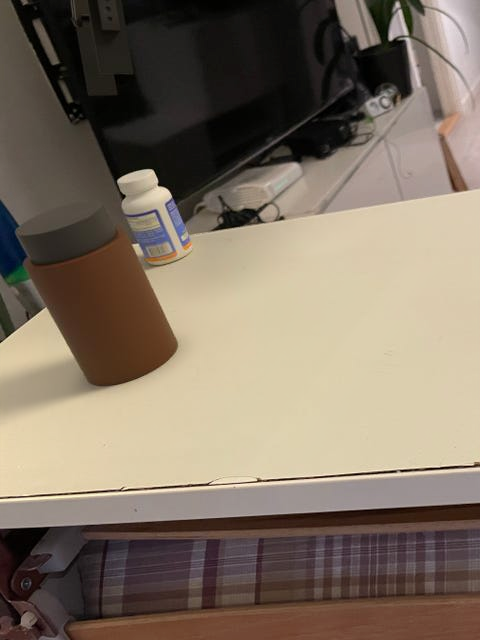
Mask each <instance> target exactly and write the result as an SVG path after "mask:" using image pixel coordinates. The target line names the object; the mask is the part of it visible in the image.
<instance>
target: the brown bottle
mask: <svg viewBox="0 0 480 640" xmlns="http://www.w3.org/2000/svg"><path fill="white" fill-rule="evenodd" d="M14 233H15V236H16V238H17V239H18V241H19V243H20V245H21V247H22V249H23V251H24V253H25V254H26V258H25V259H24V260H23V262H22V266H23V268H24V270H25V271H26V273H27V275H28V276H29V278H30V280H31V282H32V284H33V286H34V288H35V289H36V291H37V293H38V294H39V296H40V298H41V300H42V302H43V304H44V306H45V307H46V309H47V311H48V313H49V314H50V317H51V318H52V320H53V322H54V323H55V325H56V327H57V329H58V331H59V332H60V334H61V336H62V338H63V340H64V341H65V343H66V345H67V347H68V349H69V350H70V353H71V354H72V355H73V357H74V359H75V361H76V363H77V365H78V366H79V368H80V370H81V372H82V374H83V376H84V377H85V379H86V380H87V382H88V383H90V384H92V385H96V386H101V387H102V386H104V387H105V386H114V385H119V384H123V383H126V382H130V381H132V380H135V379H136V380H137V379H138V378H140V377H143V376H145V375H147V374H149V373H151V372H153V371H155V370H156V369H158V368H160V367H161V366H162V365H164V364H166V362H167V361H168V360H170V359H171V358H172V357H173V356H174V355H175V353H176V351H177V350H178V347H179V341H178V340H177V337H176V335H175V333H174V331H173V329H172V326H171V324H170V323H169V320H168V318H167V315H166V314H165V312H164V310H163V307H162V305H161V303H160V301H159V299H158V297H157V295H156V293H155V290H154V288H153V286H152V284H151V282H150V280H149V278H148V275H147V274H146V271H145V269H144V267H143V264H142V263H141V261H140V259H139V256H138V255H137V252H136V249H135V248H134V245H133V244H132V241H131V239H130V237H129V235H128V233H127V231H126V229H125V227H123V226H121V225H115V224H114V221H113V219H112V218H111V215H110V213H109V211H108V209H107V207H106V204H105V202H103V201H102V200H98V199H95V200H94V199H91V200H84V201H78V202H73V203H70V204H66V205H62V206H59V207H56V208H53V209H49V210H47V211H44V212H42V213H40V214H38V215H35V216H34V217H32V218H30V219H28V220H26V221H24V222H23V223H21V224H20V225H19V226H18V227H16V229H15V230H14Z"/></svg>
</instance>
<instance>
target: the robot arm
mask: <svg viewBox="0 0 480 640" xmlns="http://www.w3.org/2000/svg"><path fill="white" fill-rule="evenodd" d="M70 8H71V15H72V17H71V22H72V24H73V26H74V27H76V28H75V31H76V35H77V40H78V47H79V53H80V56H81V63H82V68H83V73H84V79H85V85H86V91H87V95H88V96H90V97H91V96H117V95H118V89H117V83H116V79H115V75H133V74H134V67H133V62H132V56H131V51H130V50H131V49H130V44H129V39H128V34H127V33H128V32H127V26H126V20H125V14H124V9H123V3H122V0H70Z"/></svg>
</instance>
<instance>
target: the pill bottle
mask: <svg viewBox="0 0 480 640" xmlns="http://www.w3.org/2000/svg"><path fill="white" fill-rule="evenodd" d="M116 183H117V185H118V188H119V191H120V192H121V193H122V195H125V198H124V199H123V200H122V201H121V209H122V212H123V214H124V216H125V218H126V221H127V223H128V226H130V229H131V231H132V232H133V236H134V237H135V240H136V242H137V243H138V246H139V247H140V250H141V252H142V254H143V256H144V258H145V260H146V262H147V263H148V264H149V265H152V266H162V265H166V264H170V263H173V262H176V261H178V260H180V259H183V258H184V257H186V256H188V255H189V254H190V253H191V252H192V250H193V248H194V246H193V242H192V240H191V237H190V235H189V233H188V230H187V228H186V226H185V223H184V221H183V219H182V216H181V215H180V212H179V209H178V207H177V205H176V203H175V199H174V198H173V195H172V194H171V192H170V190H169V189H168V188H166V187H164V186H159V185H158V184H159V179H158V177H157V175H156V173H155V171H154V170H153V169H150V168H146V169H141V170H136V171H133V172H129V173H127V174H125V175H123V176H121V177H119V178H118V179H117V181H116Z"/></svg>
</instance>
